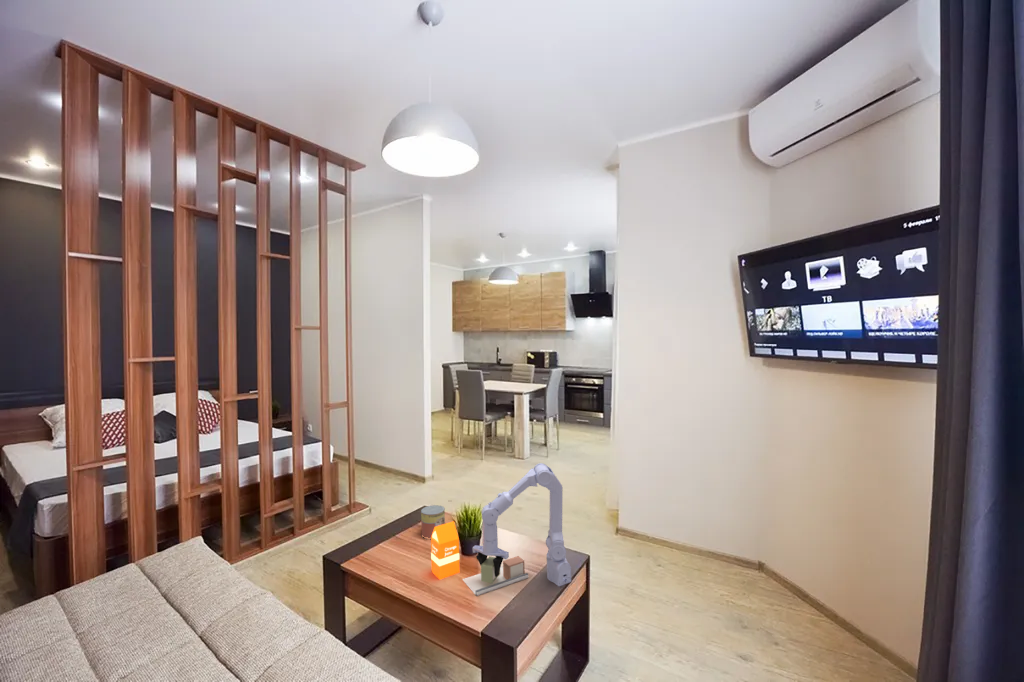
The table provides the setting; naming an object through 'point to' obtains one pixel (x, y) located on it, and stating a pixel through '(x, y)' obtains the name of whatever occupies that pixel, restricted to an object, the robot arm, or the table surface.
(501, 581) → the shelf board
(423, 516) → the canned food
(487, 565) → the tea box olive
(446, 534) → the orange juice
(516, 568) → the tea box rust
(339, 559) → the table surface
